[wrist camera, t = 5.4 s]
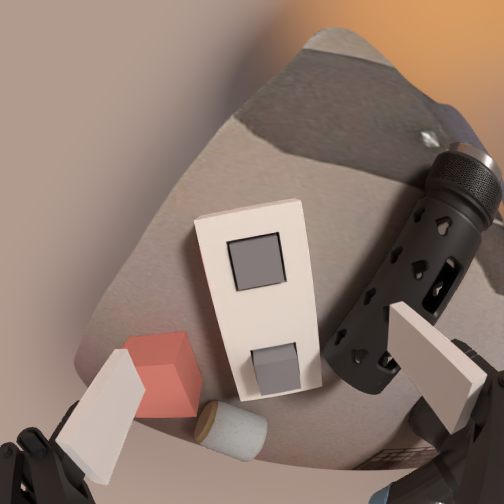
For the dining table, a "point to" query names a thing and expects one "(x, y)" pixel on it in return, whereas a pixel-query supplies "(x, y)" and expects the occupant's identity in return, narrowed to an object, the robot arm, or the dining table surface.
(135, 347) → the salmon red cube
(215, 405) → the ceramic mug
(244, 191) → the dining table surface
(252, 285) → the button tagged
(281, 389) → the button plain
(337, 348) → the muzzle brake
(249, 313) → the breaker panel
